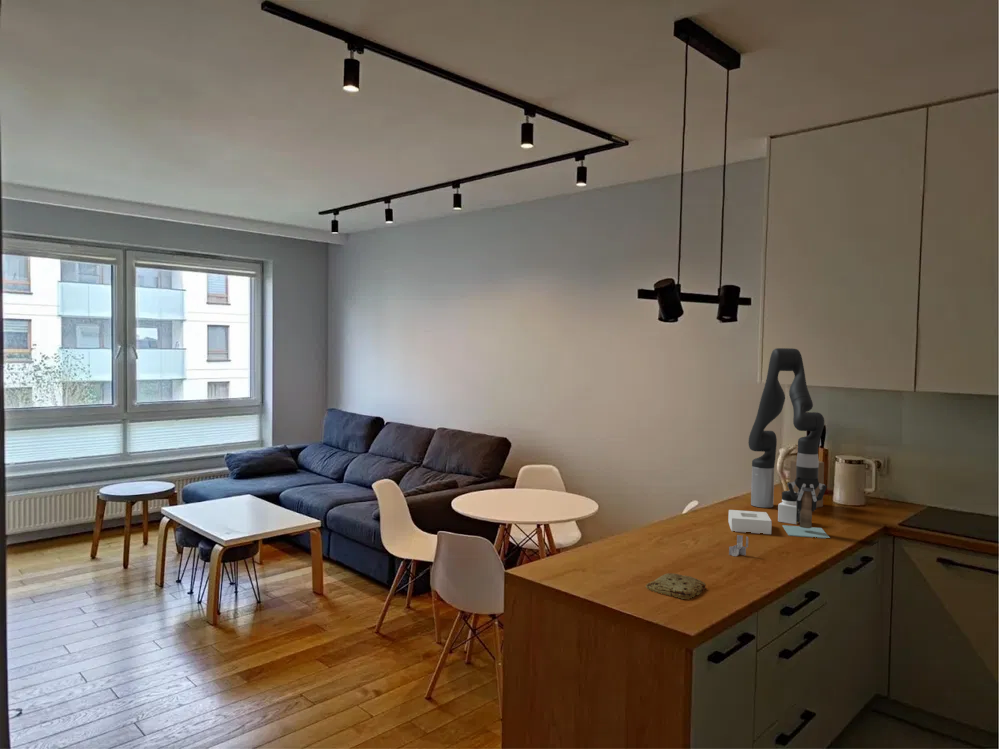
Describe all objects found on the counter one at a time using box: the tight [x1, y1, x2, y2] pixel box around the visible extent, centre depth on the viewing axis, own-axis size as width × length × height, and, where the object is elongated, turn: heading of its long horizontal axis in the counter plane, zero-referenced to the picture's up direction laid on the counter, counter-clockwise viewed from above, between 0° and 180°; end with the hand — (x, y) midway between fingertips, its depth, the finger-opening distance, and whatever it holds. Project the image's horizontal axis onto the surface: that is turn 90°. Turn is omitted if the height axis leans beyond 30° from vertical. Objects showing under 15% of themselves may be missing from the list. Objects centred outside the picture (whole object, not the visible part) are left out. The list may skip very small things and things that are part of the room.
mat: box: [781, 524, 831, 539], centre depth 252 cm, size 14×14×1 cm
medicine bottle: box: [777, 490, 800, 525], centre depth 268 cm, size 7×7×12 cm
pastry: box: [644, 572, 707, 600], centre depth 190 cm, size 17×17×3 cm
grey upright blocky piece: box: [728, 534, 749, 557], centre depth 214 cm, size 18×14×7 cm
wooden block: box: [789, 459, 825, 509], centre depth 296 cm, size 10×10×20 cm
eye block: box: [727, 509, 773, 535], centre depth 256 cm, size 14×14×5 cm
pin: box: [799, 487, 813, 528], centre depth 251 cm, size 5×5×15 cm
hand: (806, 510), depth 251 cm, fingers closed on pin, 4 cm apart
